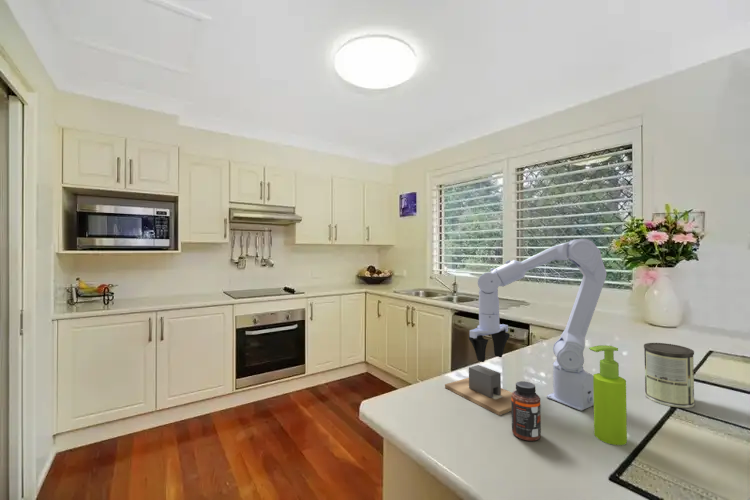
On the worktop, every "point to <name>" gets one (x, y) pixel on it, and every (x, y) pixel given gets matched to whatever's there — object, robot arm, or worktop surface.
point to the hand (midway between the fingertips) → (489, 358)
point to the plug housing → (484, 381)
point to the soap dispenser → (609, 399)
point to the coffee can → (669, 374)
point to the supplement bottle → (526, 412)
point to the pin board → (482, 397)
